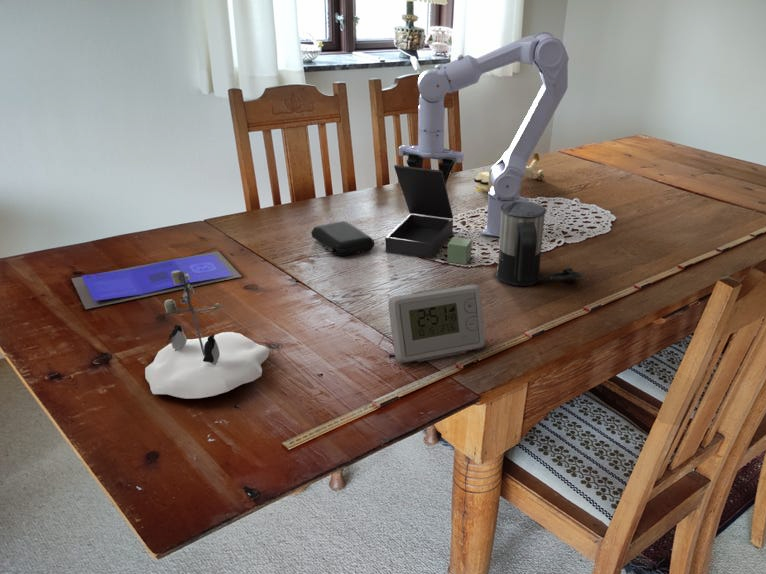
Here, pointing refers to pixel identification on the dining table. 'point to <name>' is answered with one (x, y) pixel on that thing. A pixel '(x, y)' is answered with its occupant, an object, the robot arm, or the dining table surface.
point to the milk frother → (524, 245)
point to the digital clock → (436, 323)
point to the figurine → (202, 358)
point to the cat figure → (530, 172)
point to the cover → (424, 191)
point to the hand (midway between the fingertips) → (430, 190)
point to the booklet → (151, 279)
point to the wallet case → (419, 236)
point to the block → (459, 250)
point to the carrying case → (342, 238)
